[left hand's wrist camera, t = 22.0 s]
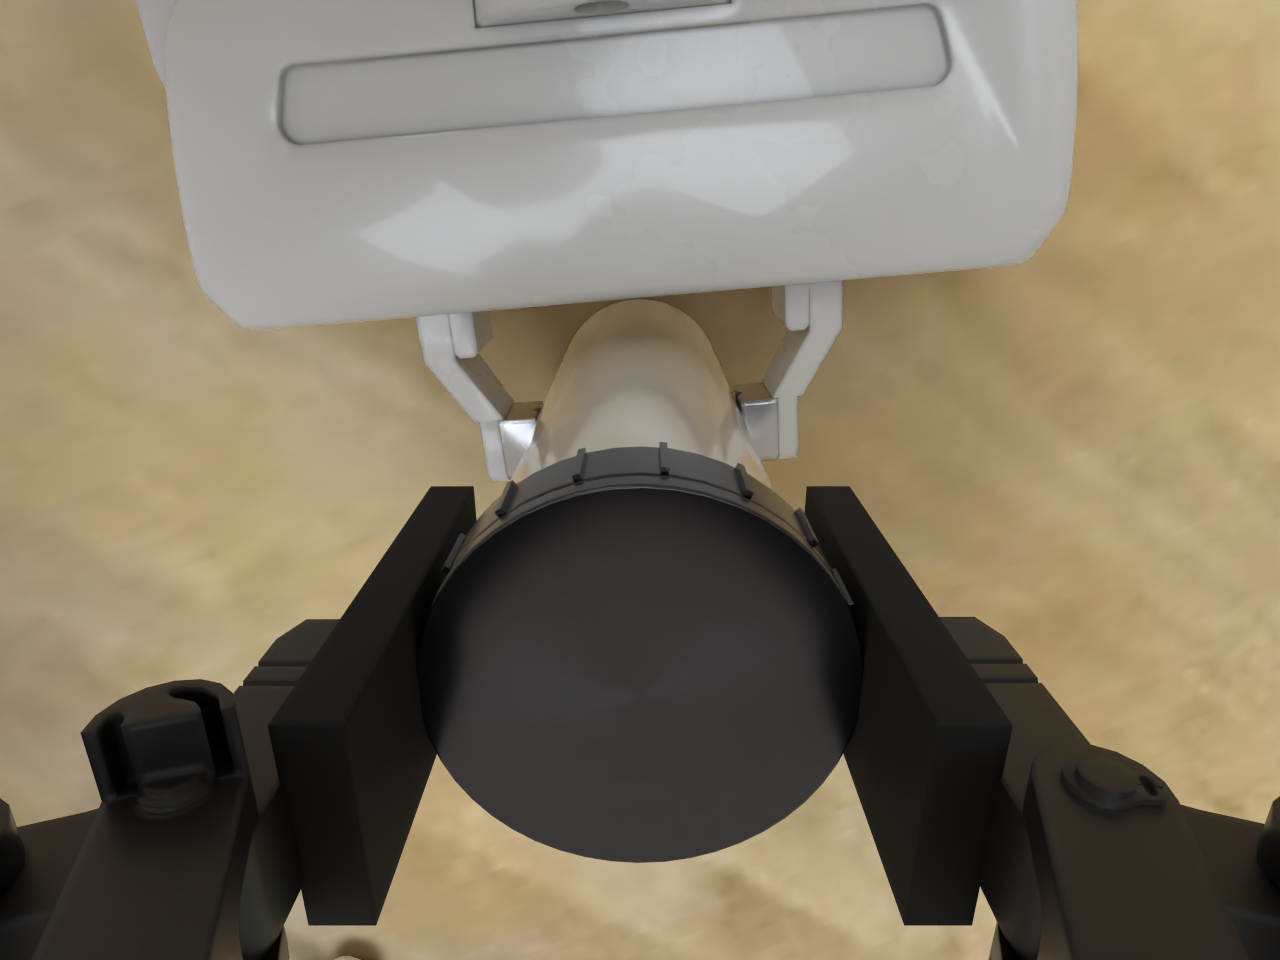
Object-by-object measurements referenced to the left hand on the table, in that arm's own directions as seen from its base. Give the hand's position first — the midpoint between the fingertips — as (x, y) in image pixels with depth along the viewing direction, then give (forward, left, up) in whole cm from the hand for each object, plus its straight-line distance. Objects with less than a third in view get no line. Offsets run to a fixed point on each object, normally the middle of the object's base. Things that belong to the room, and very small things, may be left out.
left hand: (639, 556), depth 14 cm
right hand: (+1, +1, -7) cm, 7 cm away
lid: (0, 0, +4) cm, 4 cm away
